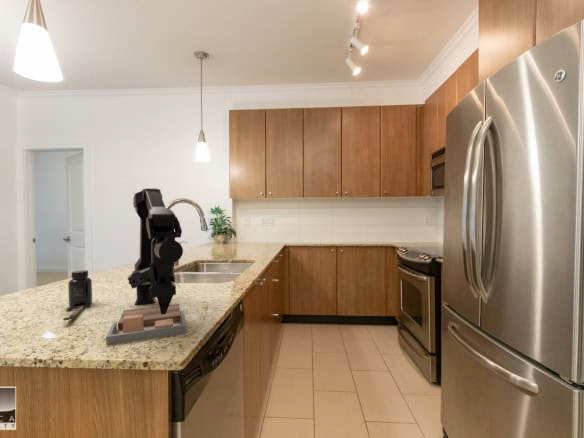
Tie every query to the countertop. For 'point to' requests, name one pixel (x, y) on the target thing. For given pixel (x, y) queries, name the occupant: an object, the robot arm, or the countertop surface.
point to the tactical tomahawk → (76, 311)
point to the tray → (144, 333)
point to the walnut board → (152, 315)
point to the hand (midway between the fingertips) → (163, 313)
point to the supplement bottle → (80, 289)
